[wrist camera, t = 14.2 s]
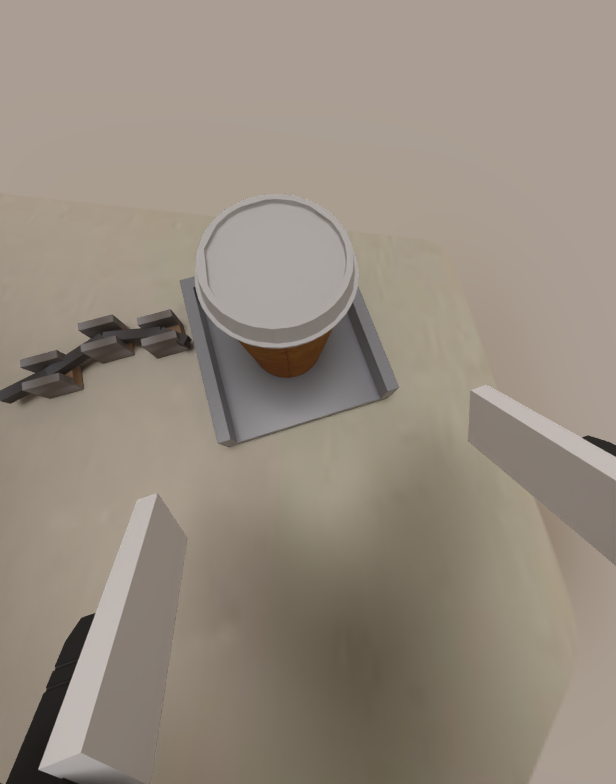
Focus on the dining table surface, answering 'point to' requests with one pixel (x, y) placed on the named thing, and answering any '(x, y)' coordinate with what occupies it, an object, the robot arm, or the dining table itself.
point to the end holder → (287, 395)
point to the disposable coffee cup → (277, 279)
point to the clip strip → (97, 353)
